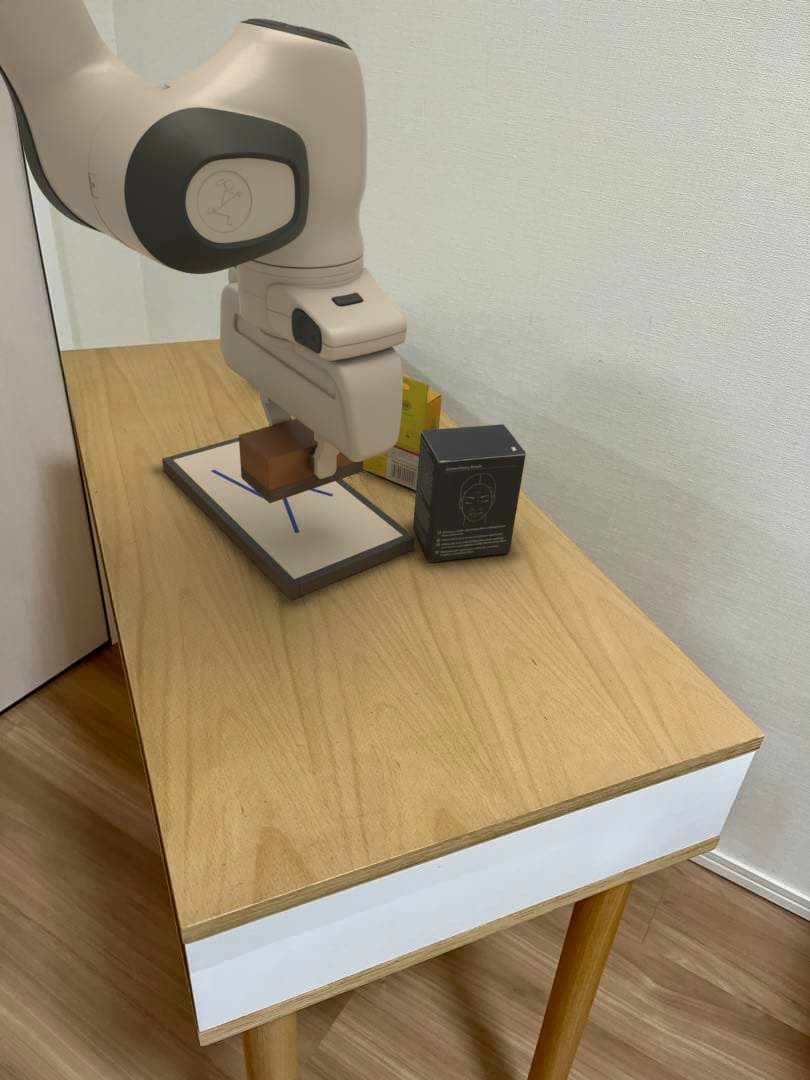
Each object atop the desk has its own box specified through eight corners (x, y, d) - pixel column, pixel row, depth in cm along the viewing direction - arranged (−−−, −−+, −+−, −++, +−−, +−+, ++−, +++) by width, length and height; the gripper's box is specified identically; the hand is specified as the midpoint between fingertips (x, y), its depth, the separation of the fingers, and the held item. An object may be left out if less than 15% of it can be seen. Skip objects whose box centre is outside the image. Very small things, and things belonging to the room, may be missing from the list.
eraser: (269, 503, 64) (267, 459, 61) (241, 478, 66) (238, 434, 64) (363, 471, 68) (364, 429, 66) (333, 449, 71) (333, 407, 69)
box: (489, 520, 79) (505, 422, 72) (510, 555, 74) (528, 454, 68) (410, 527, 77) (420, 427, 70) (427, 564, 72) (439, 460, 66)
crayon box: (434, 481, 84) (446, 376, 77) (419, 493, 82) (429, 386, 75) (375, 457, 87) (381, 354, 80) (359, 468, 85) (364, 363, 78)
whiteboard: (291, 600, 67) (291, 586, 66) (163, 470, 82) (161, 457, 81) (414, 549, 74) (415, 536, 73) (276, 437, 89) (276, 426, 88)
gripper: (193, 254, 63) (207, 415, 71) (344, 347, 50) (340, 530, 59) (265, 243, 66) (270, 398, 74) (423, 328, 54) (409, 503, 62)
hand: (302, 457), depth 66 cm, fingers closed on eraser, 4 cm apart
